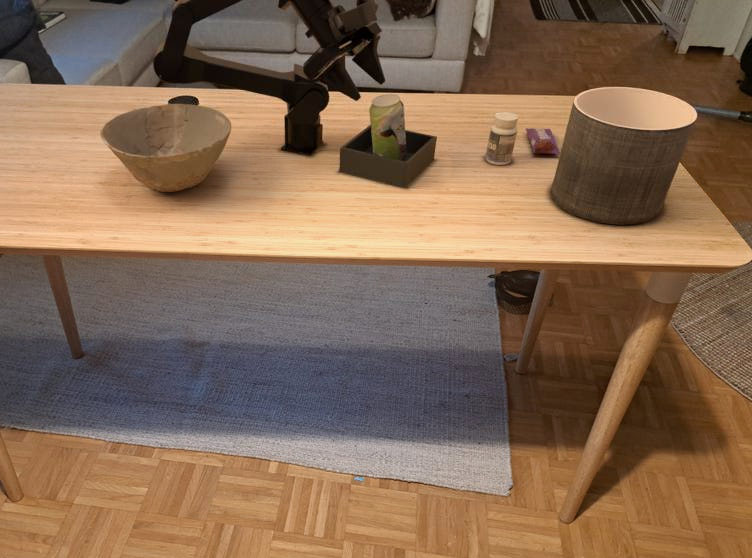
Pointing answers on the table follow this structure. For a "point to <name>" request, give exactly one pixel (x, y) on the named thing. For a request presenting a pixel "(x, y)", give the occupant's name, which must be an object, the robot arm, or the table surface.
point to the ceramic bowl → (168, 143)
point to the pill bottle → (502, 138)
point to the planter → (621, 154)
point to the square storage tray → (387, 159)
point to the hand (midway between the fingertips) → (371, 91)
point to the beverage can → (388, 127)
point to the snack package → (542, 141)
